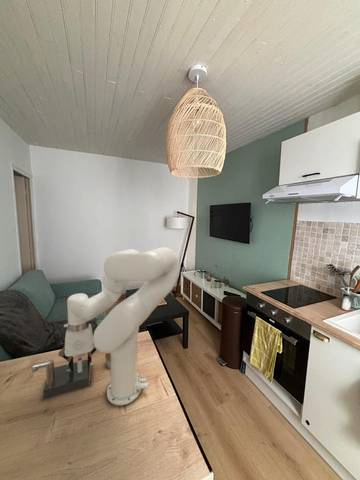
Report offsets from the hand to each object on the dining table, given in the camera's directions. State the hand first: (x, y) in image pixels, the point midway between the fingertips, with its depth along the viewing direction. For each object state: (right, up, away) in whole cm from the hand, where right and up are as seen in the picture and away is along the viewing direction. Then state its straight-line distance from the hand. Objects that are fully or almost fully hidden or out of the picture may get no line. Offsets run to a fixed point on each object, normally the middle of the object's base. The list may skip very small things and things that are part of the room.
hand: (80, 365), depth 80 cm
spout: (-9, -2, -9) cm, 13 cm away
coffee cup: (+11, -4, +7) cm, 14 cm away
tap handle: (0, -1, 0) cm, 1 cm away
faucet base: (-3, -5, -2) cm, 6 cm away
